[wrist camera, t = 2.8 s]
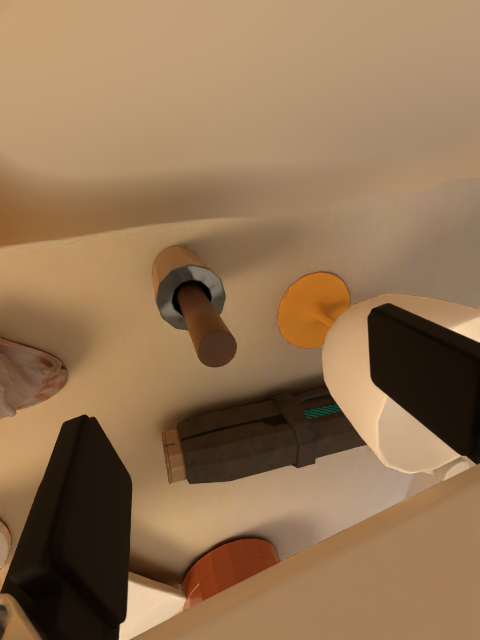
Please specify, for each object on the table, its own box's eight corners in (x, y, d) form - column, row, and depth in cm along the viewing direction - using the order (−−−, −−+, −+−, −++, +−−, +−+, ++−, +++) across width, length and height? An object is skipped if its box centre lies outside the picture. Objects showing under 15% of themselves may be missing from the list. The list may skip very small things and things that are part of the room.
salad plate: (77, 669, 44) (72, 703, 41) (-77, 643, 34) (-98, 686, 31) (189, 575, 44) (193, 602, 41) (69, 521, 34) (62, 553, 31)
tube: (160, 380, 34) (397, 356, 39) (166, 416, 38) (381, 391, 43) (154, 474, 26) (460, 429, 30) (163, 509, 30) (433, 465, 34)
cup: (266, 263, 30) (392, 329, 15) (365, 255, 33) (553, 302, 18) (265, 365, 35) (361, 494, 19) (352, 349, 38) (494, 450, 23)
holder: (162, 300, 28) (170, 339, 20) (144, 254, 27) (146, 277, 19) (207, 285, 29) (232, 318, 21) (193, 239, 27) (215, 256, 19)
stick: (171, 283, 28) (203, 373, 13) (165, 265, 27) (191, 339, 13) (190, 277, 28) (241, 359, 14) (184, 259, 27) (231, 325, 13)
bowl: (198, 616, 49) (205, 668, 43) (166, 567, 42) (170, 620, 37) (283, 572, 51) (299, 615, 46) (265, 519, 45) (282, 562, 39)
